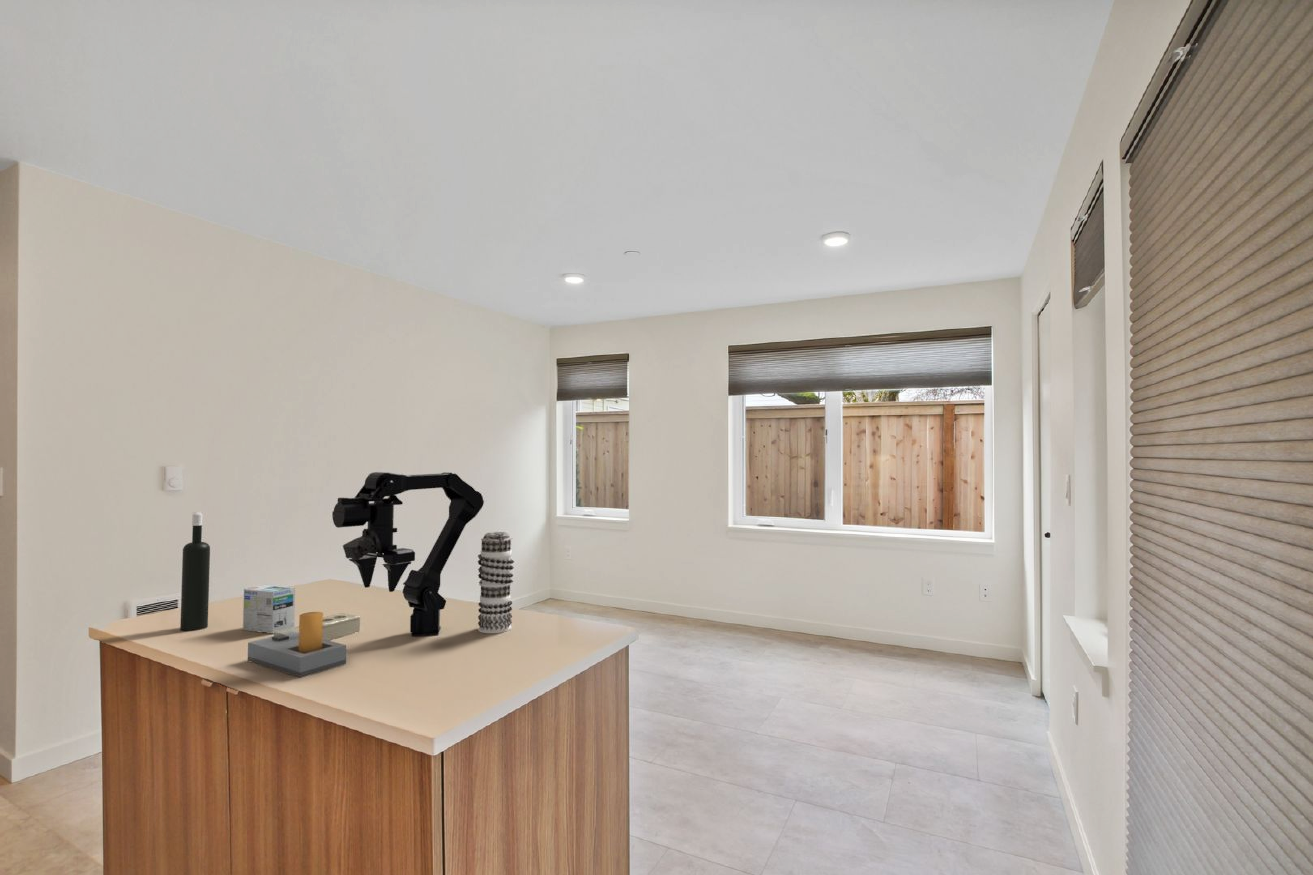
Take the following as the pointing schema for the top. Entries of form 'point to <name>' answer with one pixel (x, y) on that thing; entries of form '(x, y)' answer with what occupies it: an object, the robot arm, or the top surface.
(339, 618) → the electrical outlet
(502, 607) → the decorative candle
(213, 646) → the top surface
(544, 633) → the top surface
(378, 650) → the top surface
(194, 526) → the wine bottle
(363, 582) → the robot arm
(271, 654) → the grey block with pocket
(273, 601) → the light bulb box
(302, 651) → the orange cylinder
